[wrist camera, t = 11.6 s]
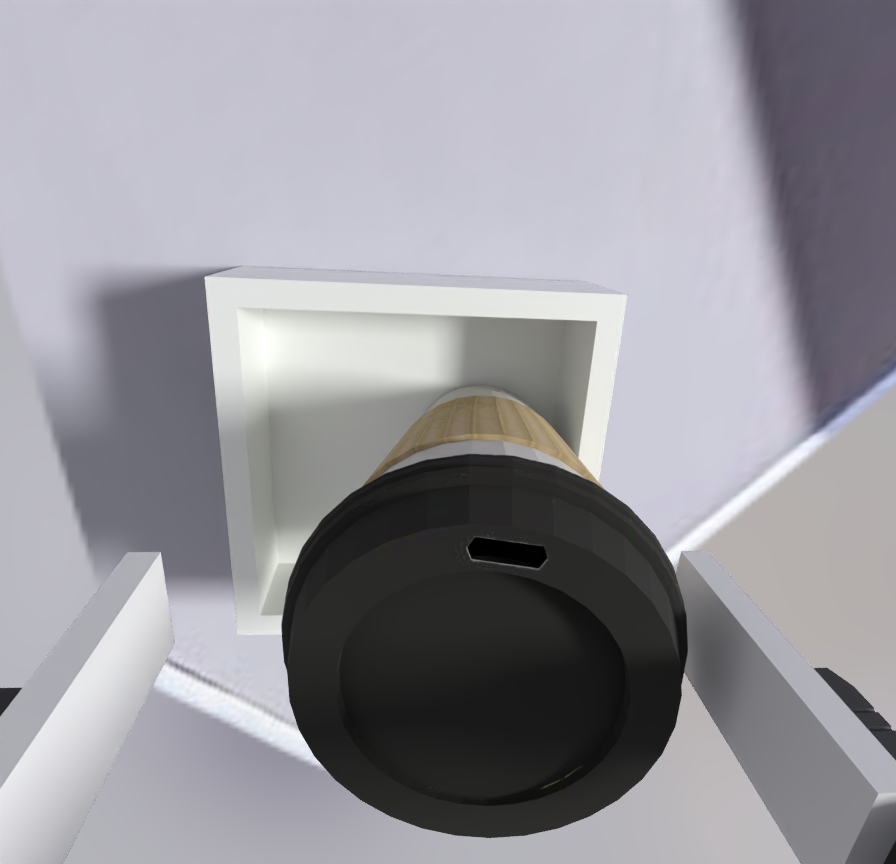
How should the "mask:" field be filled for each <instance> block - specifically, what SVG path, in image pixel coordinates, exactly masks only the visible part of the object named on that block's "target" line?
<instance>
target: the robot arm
mask: <svg viewBox="0 0 896 864" xmlns="http://www.w3.org/2000/svg"><path fill="white" fill-rule="evenodd" d="M676 577H677V581H678V584H679V587H680V591H681V594H682V598H683V601H684V608H685V611H686V615H687V638H688V655H687V660H686V664H685V669H684V673H685V674H686V676H687V677H688V679H689V681H690V682H691V684H692V686H693V687H694V689H695V691H696V692H697V694H698V696H699V697H700V699H701V700H702V702H703V704H704V705H705V707H706V709H707V710H708V712H709V714H710V715H711V717H712V719H713V720H714V722H715V724H716V725H717V727H718V728H719V730H720V732H721V733H722V735H723V737H724V738H725V740H726V742H727V743H728V745H729V746H730V748H731V750H732V751H733V753H734V755H735V756H736V758H737V760H738V761H739V763H740V765H741V766H742V768H743V769H744V771H745V773H746V774H747V776H748V778H749V779H750V781H751V782H752V784H753V786H754V787H755V789H756V791H757V792H758V794H759V796H760V797H761V799H762V801H763V802H764V804H765V805H766V807H767V809H768V811H769V812H770V814H771V815H772V817H773V819H774V820H775V822H776V824H777V825H778V827H779V829H780V830H781V832H782V834H783V835H784V836H785V838H786V840H787V842H788V843H789V845H790V846H791V848H792V850H793V851H794V853H795V855H796V856H797V858H798V860H799V861H800V863H801V864H896V731H892V729H891V726H890V725H889V723H888V722H887V721H886V720H885V719H884V718H883V717H882V716H881V715H880V714H879V713H878V712H875V711H874V708H873V706H872V705H871V704H870V703H869V702H868V701H867V700H866V699H865V698H864V697H863V696H862V695H861V694H860V693H859V692H858V691H857V689H855V687H853V686H852V685H851V684H849V683H848V682H847V681H845V680H843V679H842V678H841V677H839V676H838V675H837V674H835V673H834V672H832V671H831V670H829V669H828V668H813V667H812V666H811V665H810V664H809V663H808V662H807V661H806V659H805V658H804V657H803V656H802V655H801V654H800V653H799V651H798V650H797V649H796V648H795V647H794V646H793V645H792V644H791V642H789V640H788V639H787V638H786V637H785V636H784V635H783V633H782V632H780V630H779V629H778V628H777V627H776V626H775V625H774V624H773V622H772V621H771V620H770V619H769V618H768V617H767V616H766V615H765V613H764V612H763V611H762V610H761V609H760V608H759V607H758V605H757V604H756V603H755V602H754V601H753V600H752V599H751V598H750V596H749V595H748V594H747V593H746V592H745V591H744V590H743V589H742V588H741V586H740V585H739V584H738V583H737V582H736V581H735V580H734V579H733V578H732V576H730V574H729V573H728V572H727V571H726V570H725V569H724V567H723V566H722V565H721V564H720V563H719V562H718V561H717V559H716V558H715V557H714V556H713V555H712V554H711V553H710V552H709V551H681V555H680V559H679V563H678V567H677V572H676ZM174 643H175V640H174V634H173V627H172V621H171V615H170V608H169V602H168V596H167V589H166V583H165V577H164V570H163V564H162V558H161V552H127V553H126V554H125V556H124V557H123V558H122V559H121V561H120V562H119V563H118V565H117V566H116V567H115V569H114V570H113V571H112V572H111V574H110V575H109V576H108V578H107V579H106V580H105V582H104V583H103V584H102V585H101V587H100V588H99V589H98V591H97V592H96V593H95V594H94V596H93V597H92V598H91V600H90V601H89V602H88V604H87V605H86V606H85V607H84V609H83V610H82V611H81V613H80V614H79V615H78V617H77V618H76V619H75V620H74V622H73V623H72V624H71V626H70V627H69V628H68V629H67V631H66V632H65V633H64V635H63V636H62V637H61V639H60V640H59V641H58V642H57V644H56V645H55V646H54V648H53V649H52V650H51V652H50V653H49V654H48V655H47V657H46V658H45V659H44V661H43V662H42V663H41V664H40V666H39V667H38V668H37V670H36V671H35V672H34V674H33V675H32V676H31V678H30V679H29V680H28V681H27V683H26V684H25V685H24V687H23V688H0V864H63V863H64V861H65V859H66V857H67V855H68V853H69V851H70V849H71V847H72V845H73V843H74V841H75V839H76V837H77V835H78V833H79V831H80V829H81V827H82V825H83V823H84V821H85V819H86V817H87V815H88V813H89V811H90V809H91V807H92V805H93V804H94V801H95V799H96V797H97V795H98V793H99V792H100V790H101V788H102V786H103V783H104V782H105V780H106V778H107V776H108V774H109V772H110V770H111V768H112V766H113V764H114V762H115V760H116V758H117V756H118V754H119V752H120V750H121V748H122V746H123V744H124V742H125V740H126V738H127V736H128V734H129V732H130V730H131V728H132V726H133V724H134V722H135V720H136V718H137V716H138V714H139V712H140V710H141V708H142V707H143V705H144V702H145V700H146V699H147V697H148V695H149V693H150V691H151V689H152V687H153V685H154V683H155V681H156V679H157V677H158V675H159V673H160V671H161V669H162V667H163V665H164V663H165V661H166V659H167V657H168V655H169V653H170V651H171V649H172V647H173V645H174Z"/></svg>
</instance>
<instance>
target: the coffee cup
mask: <svg viewBox="0 0 896 864" xmlns="http://www.w3.org/2000/svg"><path fill="white" fill-rule="evenodd" d="M281 630H282V642H283V654H284V663H285V666H286V669H287V674H288V686H289V698H290V704H291V707H292V710H293V713H294V716H295V719H296V722H297V725H298V728H299V731H300V732H301V734H302V736H303V738H304V739H305V741H306V743H307V744H308V746H309V748H310V749H311V751H312V753H313V755H314V756H315V757H316V759H317V760H318V761H319V762H320V763H321V764H322V765H323V767H324V768H325V769H326V770H327V771H328V772H329V773H330V774H331V776H333V778H334V779H335V780H336V781H337V782H339V783H340V784H341V785H343V786H344V787H345V788H346V789H347V790H349V791H350V792H351V793H353V794H354V795H355V796H356V797H358V798H359V799H360V800H362V801H363V802H365V803H367V804H369V805H371V806H372V807H374V808H376V809H378V810H380V811H382V812H383V813H385V814H387V815H389V816H391V817H394V818H396V819H399V820H402V821H404V822H407V823H409V824H412V825H415V826H418V827H420V828H424V829H428V830H433V831H438V832H442V833H447V834H452V835H457V836H458V835H459V836H471V837H485V838H495V837H509V836H525V835H529V834H534V833H538V832H543V831H548V830H552V829H557V828H560V827H563V826H565V825H568V824H571V823H573V822H576V821H579V820H581V819H584V818H587V817H589V816H591V815H593V814H594V813H596V812H598V811H600V810H601V809H603V808H605V807H606V806H608V805H610V804H612V803H613V802H615V801H617V800H618V799H620V798H621V797H622V796H623V795H624V794H625V793H627V792H628V791H629V790H630V789H631V788H632V787H634V786H635V785H636V784H637V783H638V782H639V781H641V780H642V779H643V778H644V776H645V775H646V774H647V772H648V771H649V770H650V769H651V767H652V766H653V765H654V763H655V762H656V761H657V759H658V758H659V757H660V756H661V755H662V753H663V751H664V749H665V747H666V745H667V742H668V740H669V738H670V736H671V734H672V732H673V730H674V728H675V725H676V720H677V715H678V710H679V705H680V701H681V696H682V695H681V694H682V693H681V684H682V679H683V674H684V669H685V664H686V660H687V655H688V638H687V615H686V611H685V608H684V601H683V598H682V594H681V591H680V587H679V584H678V581H677V577H676V574H675V571H674V567H673V565H672V564H671V562H670V560H669V558H668V557H667V555H666V553H665V551H664V550H663V548H662V546H661V544H660V543H659V541H658V539H657V538H656V536H655V534H654V533H653V532H652V531H651V530H650V529H649V528H648V527H647V526H646V525H645V524H644V523H643V521H642V520H641V519H640V518H639V517H638V516H637V515H636V514H635V513H634V512H633V511H632V510H631V509H630V507H629V506H627V505H626V504H624V503H623V502H622V501H620V500H619V499H617V498H616V497H614V496H613V495H612V494H610V493H609V492H607V491H606V490H605V489H604V488H603V487H602V486H601V485H600V483H599V482H598V481H597V480H596V479H595V477H594V476H593V475H592V474H591V473H590V471H589V470H588V469H587V468H586V467H585V465H584V464H583V463H582V462H581V461H580V459H579V458H578V457H577V456H576V455H575V453H574V452H573V451H572V450H571V449H570V447H569V446H568V445H567V444H566V443H565V441H564V440H563V439H562V438H561V437H560V435H559V434H558V433H557V432H556V431H555V430H554V429H553V428H552V426H551V425H550V424H549V423H548V422H547V421H546V420H545V419H544V418H543V417H541V416H540V415H539V414H537V413H536V411H535V410H534V409H533V408H532V407H531V406H530V405H529V404H528V403H527V402H526V401H525V400H523V399H522V398H520V397H519V396H518V395H516V394H514V393H512V392H510V391H508V390H505V389H503V388H498V387H494V386H486V385H474V386H468V387H463V388H460V389H457V390H454V391H451V392H450V393H448V394H446V395H444V396H443V397H441V398H440V399H438V400H437V401H436V402H435V403H434V404H433V405H432V406H431V407H430V408H429V409H428V410H427V412H426V413H425V414H424V415H423V416H422V417H420V418H419V419H418V420H417V421H416V422H415V423H414V424H413V425H412V426H411V427H410V428H409V430H408V431H407V432H406V433H405V434H404V436H403V437H402V438H401V439H400V441H399V442H398V443H397V444H396V445H395V447H394V448H393V449H392V450H391V452H390V453H389V454H388V455H387V456H386V458H385V459H384V460H383V461H382V463H381V464H380V465H379V466H378V467H377V469H376V470H375V471H374V472H373V474H372V475H371V476H370V477H369V478H368V480H367V481H366V482H365V484H364V485H363V486H362V487H361V488H359V489H357V490H356V491H354V492H352V493H351V494H349V495H348V496H347V497H346V498H345V499H344V500H343V501H342V502H341V503H339V504H338V505H337V506H336V507H335V508H334V509H333V510H332V511H330V512H329V513H328V514H327V515H326V516H325V517H324V518H323V519H322V520H321V522H320V523H319V524H318V526H317V527H316V529H315V530H314V531H313V533H312V534H311V536H310V537H309V538H308V540H307V541H306V543H305V544H304V545H303V547H302V549H301V551H300V554H299V556H298V559H297V561H296V563H295V566H294V568H293V571H292V573H291V576H290V578H289V582H288V587H287V592H286V597H285V604H284V610H283V617H282V623H281Z"/></svg>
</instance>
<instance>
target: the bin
mask: <svg viewBox="0 0 896 864" xmlns="http://www.w3.org/2000/svg"><path fill="white" fill-rule="evenodd" d="M205 288H206V299H207V310H208V320H209V331H210V342H211V353H212V364H213V375H214V386H215V396H216V407H217V418H218V429H219V440H220V451H221V461H222V472H223V483H224V494H225V505H226V516H227V526H228V537H229V548H230V559H231V570H232V581H233V591H234V602H235V613H236V624H237V635H278V634H282V630H281V623H282V617H283V610H284V604H285V597H286V592H287V587H288V582H289V578H290V576H291V573H292V571H293V568H294V566H295V563H296V561H297V559H298V556H299V554H300V551H301V549H302V547H303V545H304V544H305V543H306V541H307V540H308V538H309V537H310V536H311V534H312V533H313V531H314V530H315V529H316V527H317V526H318V524H319V523H320V522H321V520H322V519H323V518H324V517H325V516H326V515H327V514H328V513H329V512H330V511H332V510H333V509H334V508H335V507H336V506H337V505H338V504H339V503H341V502H342V501H343V500H344V499H345V498H346V497H347V496H348V495H349V494H351V493H352V492H354V491H356V490H357V489H359V488H361V487H362V486H363V485H364V484H365V482H366V481H367V480H368V478H369V477H370V476H371V475H372V474H373V472H374V471H375V470H376V469H377V467H378V466H379V465H380V464H381V463H382V461H383V460H384V459H385V458H386V456H387V455H388V454H389V453H390V452H391V450H392V449H393V448H394V447H395V445H396V444H397V443H398V442H399V441H400V439H401V438H402V437H403V436H404V434H405V433H406V432H407V431H408V430H409V428H410V427H411V426H412V425H413V424H414V423H415V422H416V421H417V420H418V419H419V418H420V417H422V416H423V415H424V414H425V413H426V412H427V410H428V409H429V408H430V407H431V406H432V405H433V404H434V403H435V402H436V401H437V400H438V399H440V398H441V397H443V396H444V395H446V394H448V393H450V392H451V391H454V390H457V389H460V388H463V387H468V386H474V385H486V386H494V387H498V388H503V389H505V390H508V391H510V392H512V393H514V394H516V395H518V396H519V397H520V398H522V399H523V400H525V401H526V402H527V403H528V404H529V405H530V406H531V407H532V408H533V409H534V410H535V411H536V413H537V414H539V415H540V416H541V417H543V418H544V419H545V420H546V421H547V422H548V423H549V424H550V425H551V426H552V428H553V429H554V430H555V431H556V432H557V433H558V434H559V435H560V437H561V438H562V439H563V440H564V441H565V443H566V444H567V445H568V446H569V447H570V449H571V450H572V451H573V452H574V453H575V455H576V456H577V457H578V458H579V459H580V461H581V462H582V463H583V464H584V465H585V467H586V468H587V469H588V470H589V471H590V473H591V474H592V475H593V476H594V477H595V479H596V480H597V481H598V482H599V477H600V470H601V464H602V457H603V451H604V444H605V438H606V431H607V425H608V418H609V412H610V406H611V399H612V393H613V386H614V380H615V373H616V367H617V360H618V354H619V347H620V341H621V334H622V328H623V322H624V315H625V309H626V302H627V296H628V295H627V294H623V293H620V292H617V291H614V290H611V289H607V288H604V287H601V286H598V285H594V284H591V283H588V282H582V281H560V280H538V279H516V278H494V277H471V276H449V275H427V274H405V273H383V272H361V271H339V270H317V269H295V268H273V267H250V266H240V267H237V268H233V269H229V270H226V271H222V272H219V273H215V274H212V275H208V276H205Z"/></svg>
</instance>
